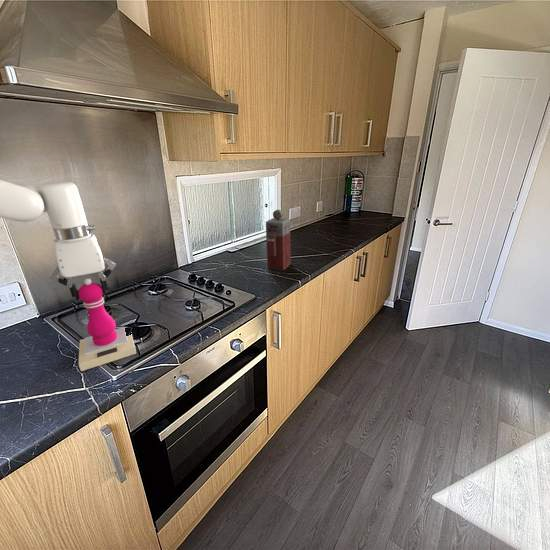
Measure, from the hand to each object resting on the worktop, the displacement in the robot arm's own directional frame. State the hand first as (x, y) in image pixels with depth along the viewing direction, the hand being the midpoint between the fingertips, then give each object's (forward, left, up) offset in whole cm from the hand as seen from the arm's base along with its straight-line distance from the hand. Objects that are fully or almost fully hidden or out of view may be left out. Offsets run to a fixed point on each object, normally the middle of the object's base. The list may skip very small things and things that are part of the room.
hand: (91, 294), depth 82 cm
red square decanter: (+77, +28, -18) cm, 84 cm away
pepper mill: (0, 0, -15) cm, 15 cm away
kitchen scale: (0, -1, -18) cm, 18 cm away
